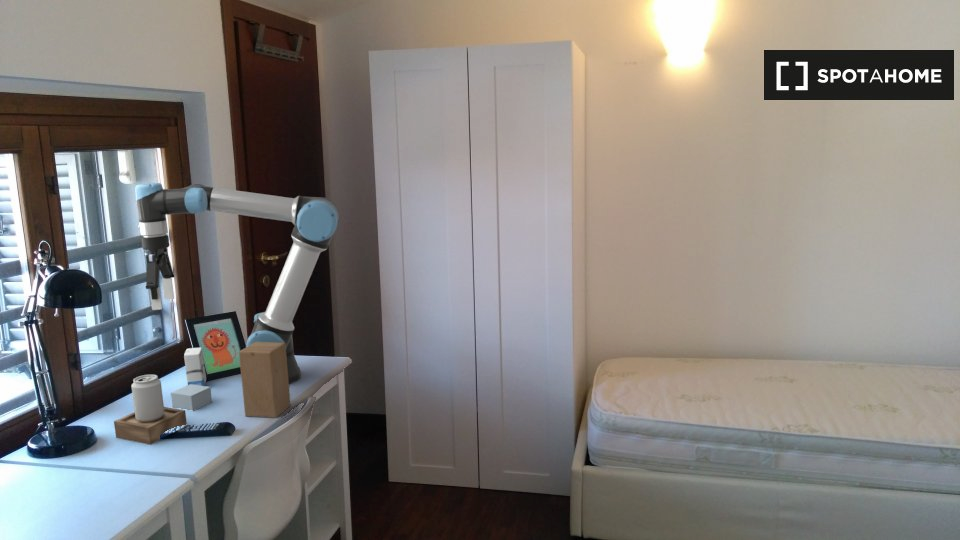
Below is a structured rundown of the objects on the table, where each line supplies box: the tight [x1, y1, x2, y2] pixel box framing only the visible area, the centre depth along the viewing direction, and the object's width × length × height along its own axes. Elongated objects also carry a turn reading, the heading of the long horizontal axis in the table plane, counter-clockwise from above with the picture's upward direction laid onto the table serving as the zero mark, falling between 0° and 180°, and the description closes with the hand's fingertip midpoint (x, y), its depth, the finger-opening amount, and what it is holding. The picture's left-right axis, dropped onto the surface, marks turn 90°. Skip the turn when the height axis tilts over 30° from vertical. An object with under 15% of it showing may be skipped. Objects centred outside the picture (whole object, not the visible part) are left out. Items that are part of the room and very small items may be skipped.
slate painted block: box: [170, 384, 213, 411], centre depth 230 cm, size 8×8×5 cm
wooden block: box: [238, 342, 291, 419], centre depth 221 cm, size 10×10×20 cm
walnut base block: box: [113, 406, 188, 445], centre depth 210 cm, size 13×13×5 cm
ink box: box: [183, 347, 207, 386], centre depth 247 cm, size 9×5×12 cm, turn 13°
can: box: [131, 374, 165, 422], centre depth 208 cm, size 8×8×12 cm
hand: (163, 304), depth 228 cm, fingers open, 13 cm apart
